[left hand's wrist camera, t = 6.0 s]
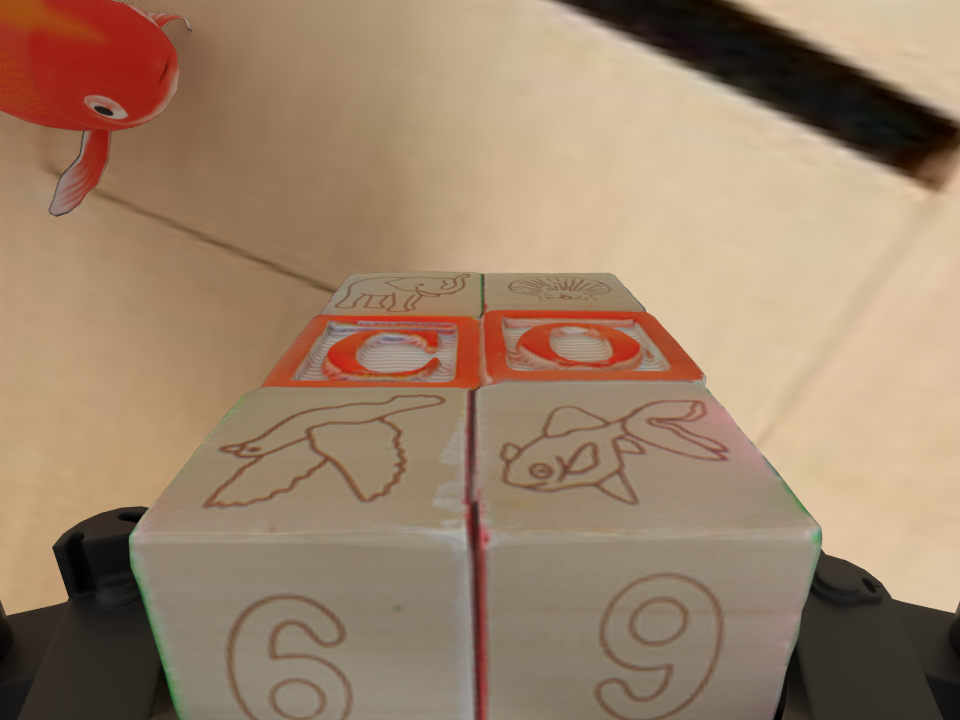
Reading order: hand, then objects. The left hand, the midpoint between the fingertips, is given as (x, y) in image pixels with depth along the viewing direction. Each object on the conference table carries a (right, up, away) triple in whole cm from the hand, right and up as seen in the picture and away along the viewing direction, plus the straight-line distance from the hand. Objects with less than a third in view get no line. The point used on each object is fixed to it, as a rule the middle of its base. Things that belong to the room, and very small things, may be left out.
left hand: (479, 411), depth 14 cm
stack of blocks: (0, -6, +3) cm, 7 cm away
